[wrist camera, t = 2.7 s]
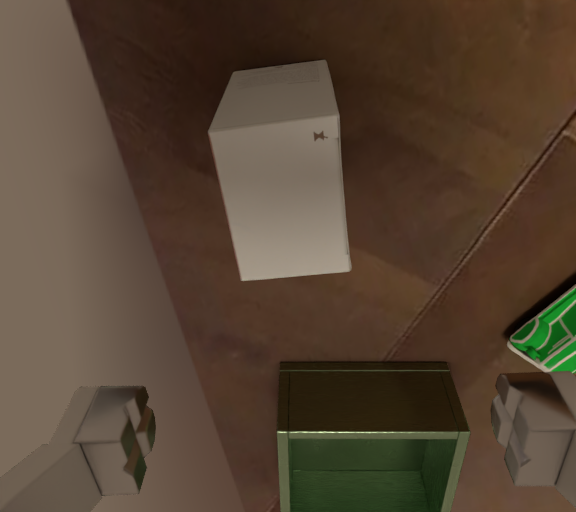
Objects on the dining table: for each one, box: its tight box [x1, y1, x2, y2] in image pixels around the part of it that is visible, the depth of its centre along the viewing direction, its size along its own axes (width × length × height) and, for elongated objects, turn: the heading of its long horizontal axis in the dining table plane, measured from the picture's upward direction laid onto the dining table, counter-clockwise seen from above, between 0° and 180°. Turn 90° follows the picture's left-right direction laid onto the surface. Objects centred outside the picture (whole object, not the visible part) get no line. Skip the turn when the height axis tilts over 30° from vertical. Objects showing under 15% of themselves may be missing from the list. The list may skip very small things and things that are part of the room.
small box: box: [208, 60, 351, 281], centre depth 27 cm, size 8×6×10 cm
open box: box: [277, 362, 471, 512], centre depth 42 cm, size 14×14×7 cm
